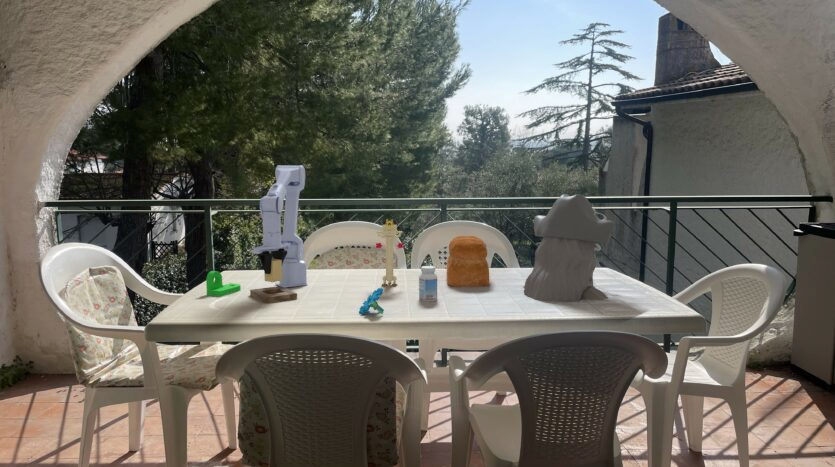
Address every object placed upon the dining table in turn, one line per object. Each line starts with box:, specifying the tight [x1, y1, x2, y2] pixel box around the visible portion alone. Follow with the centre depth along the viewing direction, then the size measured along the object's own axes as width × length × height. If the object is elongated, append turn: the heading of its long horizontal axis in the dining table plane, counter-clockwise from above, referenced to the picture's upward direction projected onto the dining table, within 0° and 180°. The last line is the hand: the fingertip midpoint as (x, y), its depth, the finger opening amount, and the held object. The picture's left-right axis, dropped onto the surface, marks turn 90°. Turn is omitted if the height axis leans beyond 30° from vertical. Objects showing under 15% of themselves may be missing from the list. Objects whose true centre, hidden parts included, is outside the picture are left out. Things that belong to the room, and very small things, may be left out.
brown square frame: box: [249, 285, 298, 304], centre depth 200 cm, size 11×14×2 cm
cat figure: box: [375, 219, 404, 287], centre depth 220 cm, size 10×9×25 cm
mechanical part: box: [205, 270, 242, 297], centre depth 208 cm, size 12×6×8 cm, turn 156°
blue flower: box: [358, 286, 385, 315], centre depth 180 cm, size 11×6×10 cm
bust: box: [522, 193, 616, 303], centre depth 205 cm, size 34×34×35 cm
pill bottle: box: [418, 265, 438, 302], centre depth 197 cm, size 6×6×11 cm
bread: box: [446, 235, 490, 288], centre depth 228 cm, size 16×26×17 cm, turn 178°
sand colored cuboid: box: [263, 258, 282, 283], centre depth 199 cm, size 4×4×7 cm
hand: (272, 272), depth 199 cm, fingers closed on sand colored cuboid, 4 cm apart
